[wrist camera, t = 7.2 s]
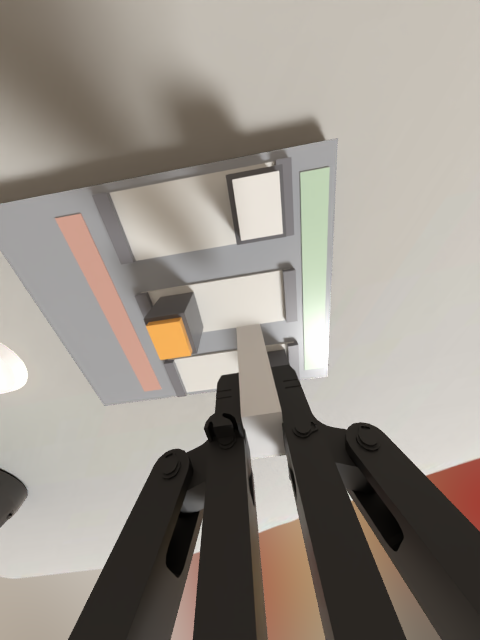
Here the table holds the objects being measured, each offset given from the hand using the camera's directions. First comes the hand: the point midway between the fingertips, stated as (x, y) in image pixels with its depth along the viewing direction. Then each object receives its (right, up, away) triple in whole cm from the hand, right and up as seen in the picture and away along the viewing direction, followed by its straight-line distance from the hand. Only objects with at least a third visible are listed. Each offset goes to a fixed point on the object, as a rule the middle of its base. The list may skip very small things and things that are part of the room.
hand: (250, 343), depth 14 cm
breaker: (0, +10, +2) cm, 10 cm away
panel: (-6, +3, +7) cm, 10 cm away
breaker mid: (-6, +2, +6) cm, 8 cm away
